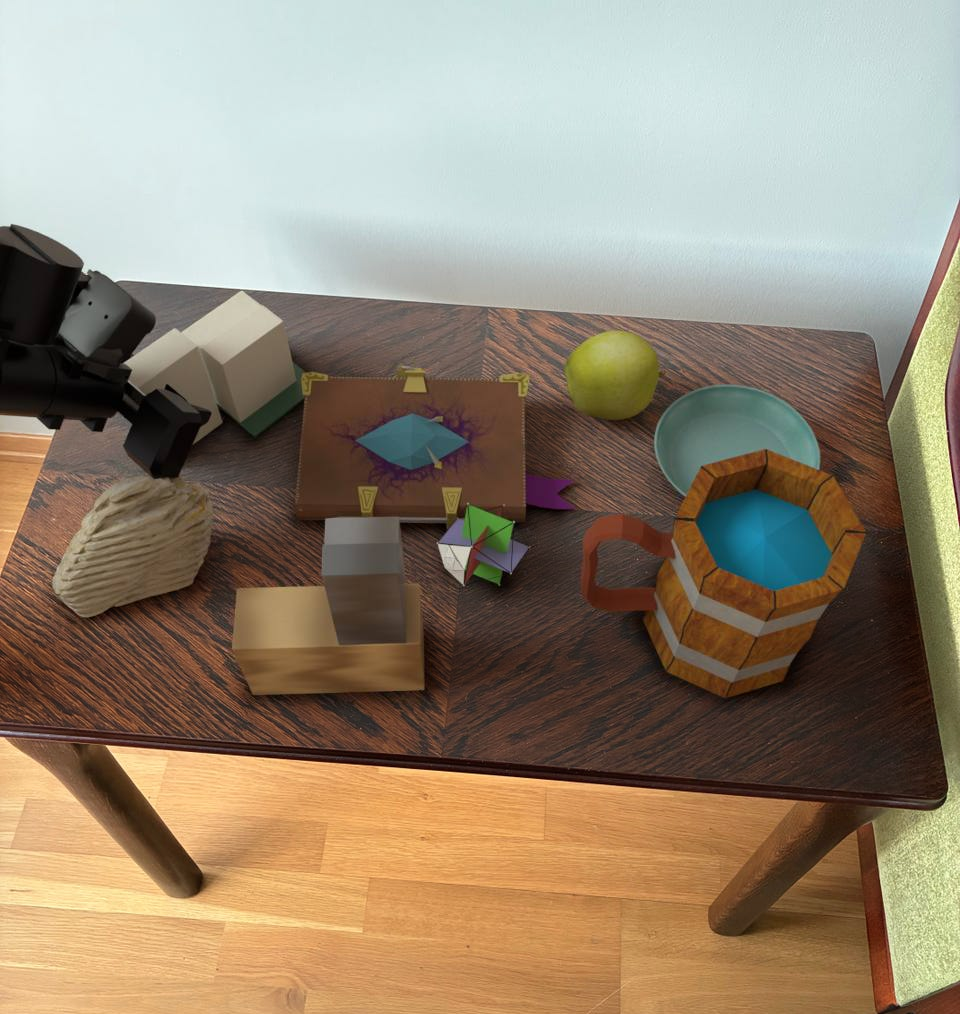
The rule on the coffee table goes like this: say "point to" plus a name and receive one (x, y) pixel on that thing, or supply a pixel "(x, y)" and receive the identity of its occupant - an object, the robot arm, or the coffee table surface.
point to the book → (416, 448)
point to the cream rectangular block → (176, 374)
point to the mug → (737, 570)
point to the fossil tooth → (136, 544)
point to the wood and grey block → (337, 620)
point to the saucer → (728, 431)
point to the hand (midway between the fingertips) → (182, 394)
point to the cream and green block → (248, 362)
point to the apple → (612, 375)
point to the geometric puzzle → (480, 546)
